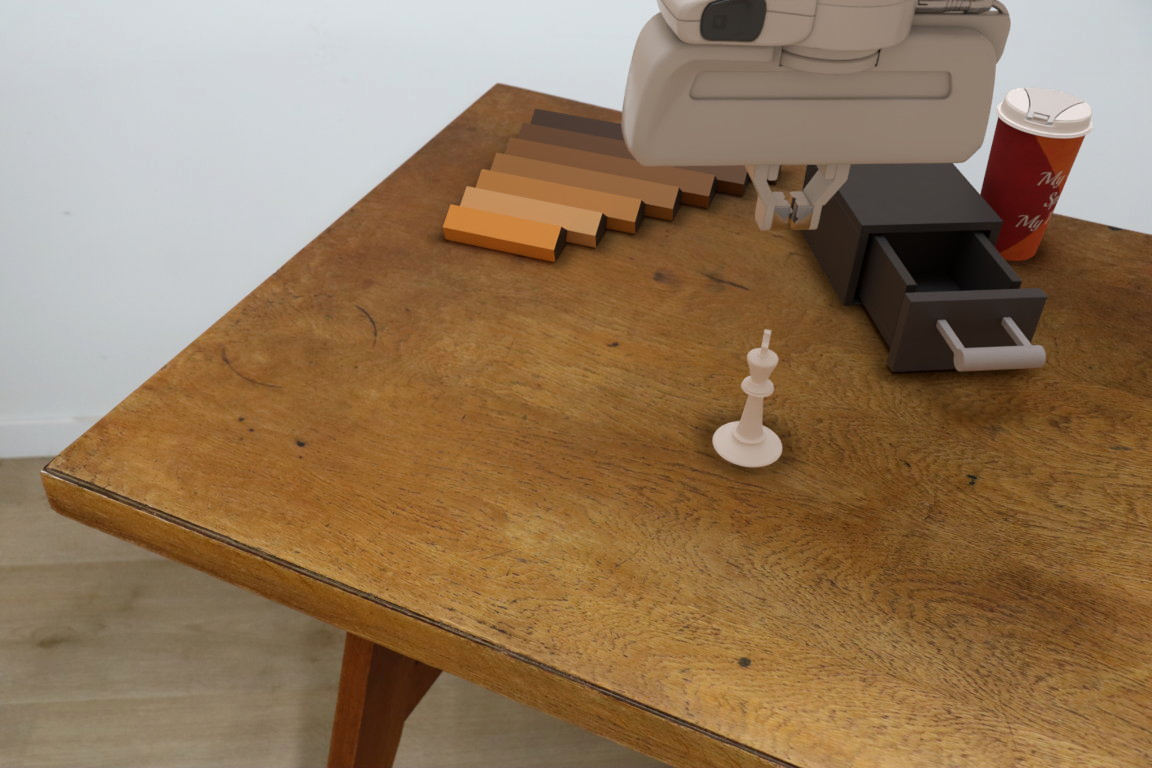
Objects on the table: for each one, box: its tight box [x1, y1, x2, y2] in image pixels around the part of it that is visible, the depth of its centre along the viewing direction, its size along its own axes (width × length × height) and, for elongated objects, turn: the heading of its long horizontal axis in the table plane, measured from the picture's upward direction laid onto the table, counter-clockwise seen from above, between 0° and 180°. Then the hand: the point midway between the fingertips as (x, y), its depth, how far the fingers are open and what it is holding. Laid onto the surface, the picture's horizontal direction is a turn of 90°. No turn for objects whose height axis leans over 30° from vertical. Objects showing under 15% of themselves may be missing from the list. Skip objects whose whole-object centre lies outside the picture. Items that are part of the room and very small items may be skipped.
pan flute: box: [442, 108, 783, 263], centre depth 101 cm, size 25×3×25 cm
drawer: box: [856, 230, 1048, 373], centre depth 84 cm, size 18×10×6 cm, turn 7°
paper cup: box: [979, 86, 1094, 262], centre depth 95 cm, size 8×8×14 cm
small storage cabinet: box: [799, 163, 1003, 307], centre depth 94 cm, size 14×12×8 cm
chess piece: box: [711, 328, 783, 468], centre depth 73 cm, size 5×5×10 cm
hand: (785, 225), depth 65 cm, fingers closed
